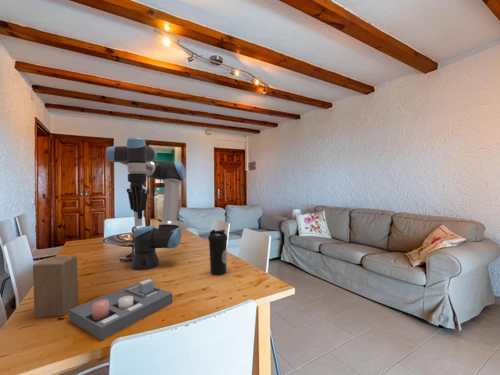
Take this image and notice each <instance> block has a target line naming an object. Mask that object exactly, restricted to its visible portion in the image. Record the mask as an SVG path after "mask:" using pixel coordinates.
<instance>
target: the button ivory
mask: <svg viewBox="0 0 500 375" xmlns="http://www.w3.org/2000/svg"><path fill="white" fill-rule="evenodd" d="M131 306H133V296H124V297H121V298H120V299H119V300H118V308H119V309H120V310H124V309H127V308H129V307H131Z"/></svg>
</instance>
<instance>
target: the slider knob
mask: <svg viewBox="0 0 500 375" xmlns="http://www.w3.org/2000/svg"><path fill="white" fill-rule="evenodd" d="M139 282H140V283H139ZM139 282H138V283H139V284H138V286H139V293H141V294H146V293H149V292H151V291H153V290H154V287H155V281H154V280H153V279H150V278H148V279H146V280H143V281H139Z"/></svg>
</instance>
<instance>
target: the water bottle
mask: <svg viewBox="0 0 500 375" xmlns="http://www.w3.org/2000/svg"><path fill="white" fill-rule="evenodd" d="M225 232H226V230H225V229H219V230H215V229H212V230H210V231H209V235H208V242H209V243H208V244H209V246H208V247H209V265H210V266H209V267H210V274H211V275H212V276H222V275H225V274H227V259H228V258H227V257H228V256H227V255H228V249H227V245H228V244H227V242H228V235H227V234H226V233H225Z"/></svg>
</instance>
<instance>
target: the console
mask: <svg viewBox="0 0 500 375" xmlns="http://www.w3.org/2000/svg"><path fill="white" fill-rule="evenodd" d="M140 282H141V281H139V282H137V283H133V284H131V285H128V286H125V287H123V288H121V289H118V290H116V291H113V292H110V293H108V294H106V295H102V296H101V297H98V298H95V299H92V300H90V301H88V302H85V303H82V304H79V305H76V306H75V307H74V308H72V309H69V312H68V321H69V320H70V321H69V322H71V323H72V322H73V324H74V323H75V326H77V325H78V326H77V327H79V328H81V329H82V328H83V329H82V330H83V331H86V332H87V333H89V334H90V333H91V335H92V334H93V335H92V336H93V337H95V336H96V338H97V337H98V338H97V339H99V340H100V339H101V340H100V341H103V340H105V339H107V338H109V337H111V336H113V335H115V334H117V333H119V332H121V331H122V330H124V329H125V328H128V327H129V326H132V325H133V324H136V323H137V322H139V321H140V320H143V319H144V318H146V317H148V316H150V315H152V314H153V313H155V312H158V311H159V310H162V309H163V308H165V307H166V306H167V307H168V306H169V305H171V304H173V292H171V291H168V290H164V289H161V288H160V287H157V286H154V290H153V291H151V292H149V293H146V294H141V293H139V286H138V284H139V283H140ZM124 296H133V306H131V307H129V308H127V309H124V310H120V309H119V308H118V300H119V299H120V298H121V297H124ZM104 299H106V300H109V317H107V318H105V319H103V320H101V321H93V317H92V304H93V303H94V302H96V301H99V300H104ZM116 332H117V333H116ZM114 333H115V334H114ZM112 334H113V335H112ZM110 335H111V336H110ZM108 336H109V337H108ZM102 339H103V340H102Z"/></svg>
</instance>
